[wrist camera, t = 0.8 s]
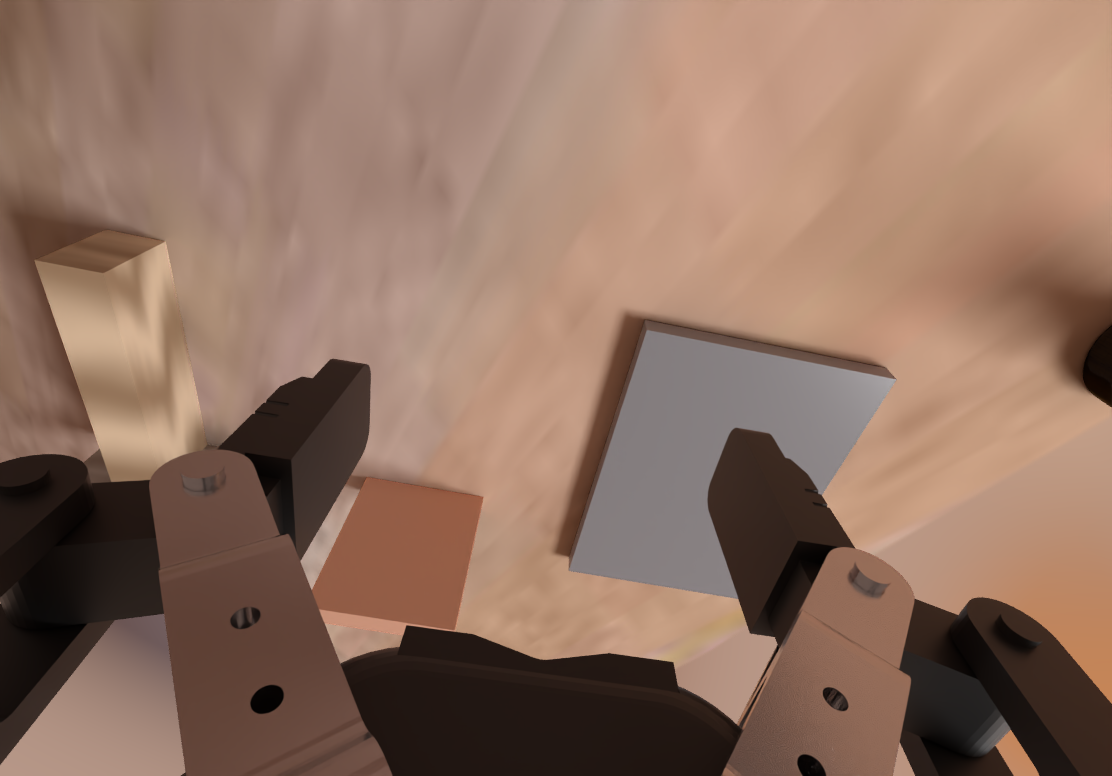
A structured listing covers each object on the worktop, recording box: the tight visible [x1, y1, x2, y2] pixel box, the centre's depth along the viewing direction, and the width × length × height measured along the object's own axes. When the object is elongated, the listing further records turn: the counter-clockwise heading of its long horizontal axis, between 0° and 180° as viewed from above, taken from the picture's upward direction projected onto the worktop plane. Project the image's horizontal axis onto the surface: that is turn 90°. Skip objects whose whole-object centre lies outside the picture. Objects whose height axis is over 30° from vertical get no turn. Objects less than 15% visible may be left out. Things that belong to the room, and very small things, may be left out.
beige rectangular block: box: [34, 230, 219, 483], centre depth 31 cm, size 15×8×5 cm, turn 169°
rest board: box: [569, 320, 897, 599], centre depth 35 cm, size 20×14×1 cm
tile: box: [312, 477, 483, 635], centre depth 34 cm, size 1×8×10 cm, turn 79°
